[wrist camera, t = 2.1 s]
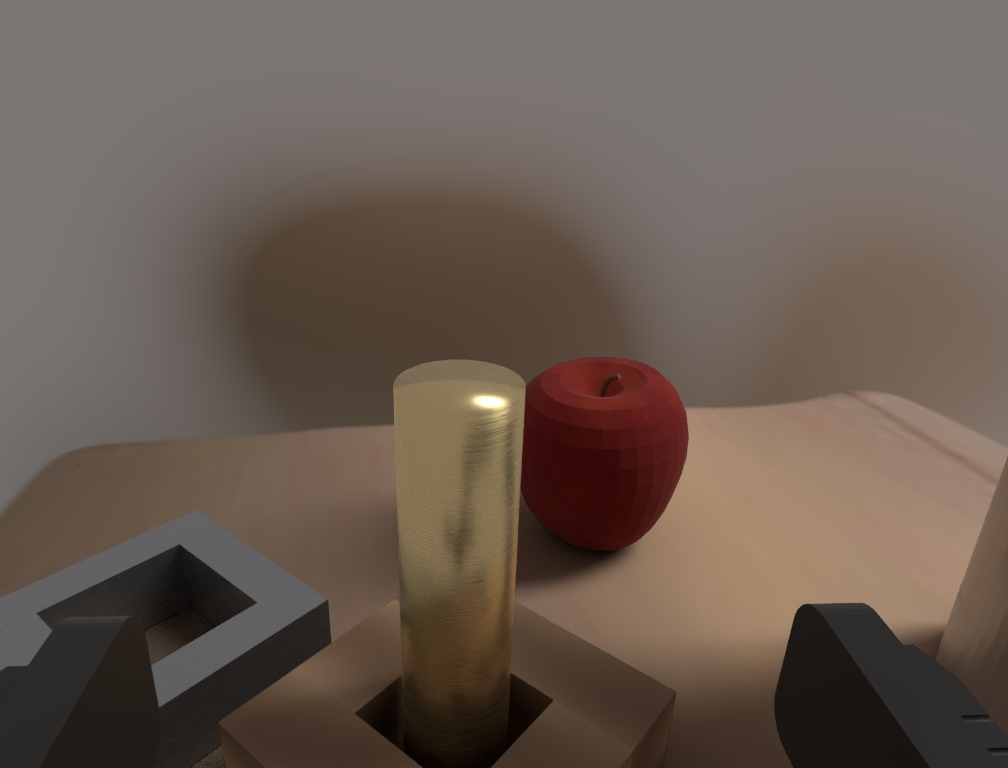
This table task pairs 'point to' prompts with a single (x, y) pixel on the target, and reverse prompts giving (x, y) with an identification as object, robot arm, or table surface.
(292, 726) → the walnut block
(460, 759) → the brass axle
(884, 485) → the table surface
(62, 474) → the table surface
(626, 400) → the apple
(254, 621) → the grey steel socket block
